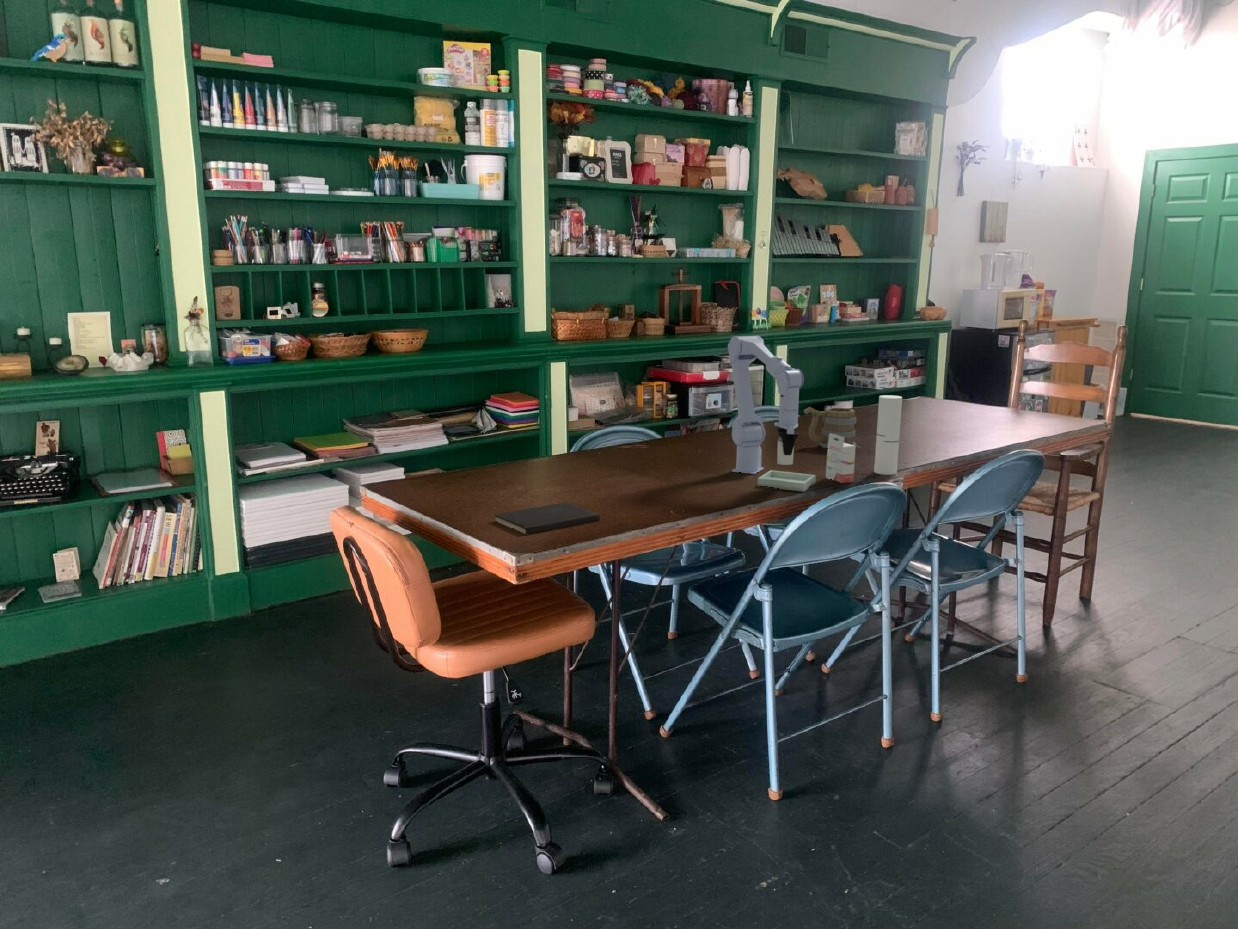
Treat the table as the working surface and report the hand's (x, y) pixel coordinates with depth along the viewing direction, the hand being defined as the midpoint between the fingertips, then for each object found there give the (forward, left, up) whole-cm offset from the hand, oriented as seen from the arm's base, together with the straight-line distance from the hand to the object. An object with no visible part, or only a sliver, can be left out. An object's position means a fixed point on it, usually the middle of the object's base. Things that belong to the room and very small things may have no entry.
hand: (786, 453), depth 287 cm
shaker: (0, 0, -3) cm, 3 cm away
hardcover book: (+70, -44, -11) cm, 83 cm away
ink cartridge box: (-14, +13, -10) cm, 22 cm away
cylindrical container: (-33, +24, -10) cm, 42 cm away
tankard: (-66, -4, -10) cm, 67 cm away
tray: (0, 0, -10) cm, 10 cm away
